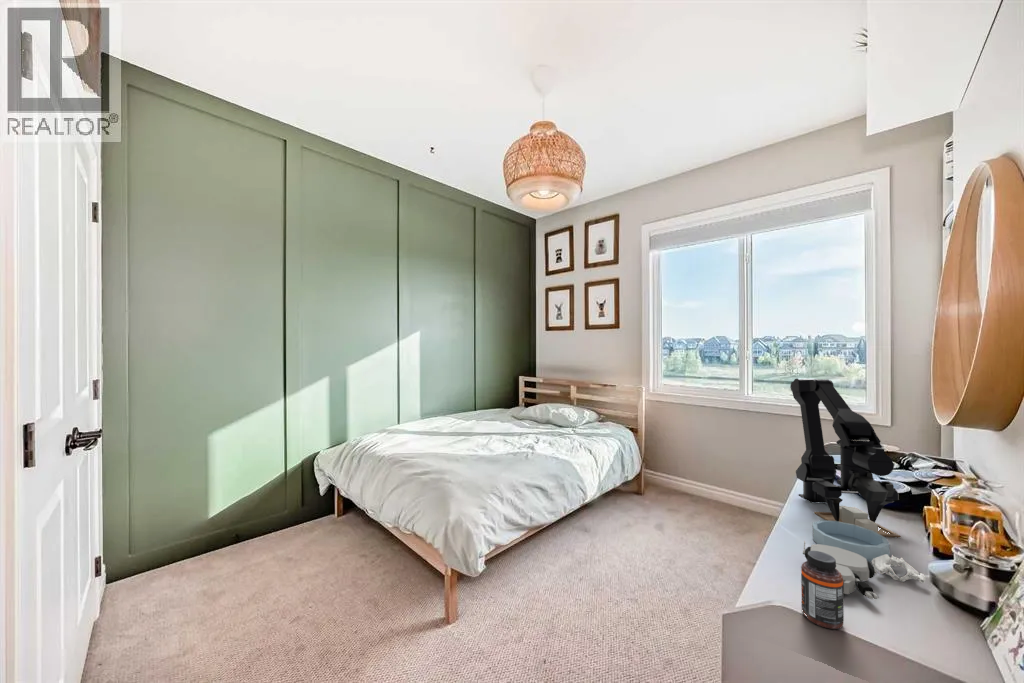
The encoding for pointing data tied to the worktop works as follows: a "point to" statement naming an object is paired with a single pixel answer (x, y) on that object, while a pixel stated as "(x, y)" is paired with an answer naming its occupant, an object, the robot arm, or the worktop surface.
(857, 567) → the robot toy
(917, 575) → the white animal skull
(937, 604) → the worktop surface
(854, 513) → the beige cube
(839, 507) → the tan cube
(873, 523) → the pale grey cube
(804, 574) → the supplement bottle
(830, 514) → the tray
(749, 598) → the worktop surface
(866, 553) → the bowl
